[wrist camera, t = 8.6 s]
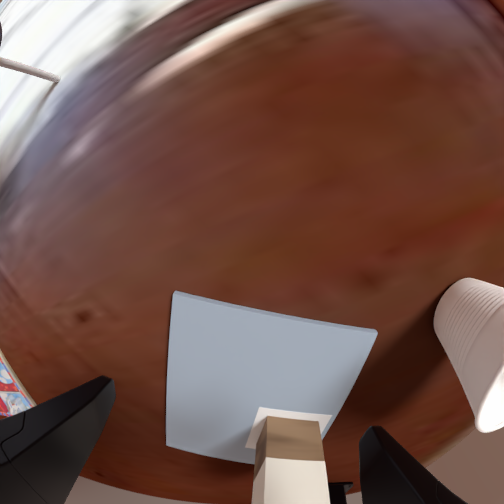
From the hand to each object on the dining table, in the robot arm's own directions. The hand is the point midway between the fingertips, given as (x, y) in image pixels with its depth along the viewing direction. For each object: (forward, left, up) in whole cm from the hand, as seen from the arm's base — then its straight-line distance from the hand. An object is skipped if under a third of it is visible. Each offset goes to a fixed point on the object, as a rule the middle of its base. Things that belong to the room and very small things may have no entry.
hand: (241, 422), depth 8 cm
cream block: (-15, -6, -7) cm, 18 cm away
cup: (+1, -18, -13) cm, 22 cm away
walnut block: (-15, -6, -12) cm, 20 cm away
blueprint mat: (-12, -2, -13) cm, 18 cm away
